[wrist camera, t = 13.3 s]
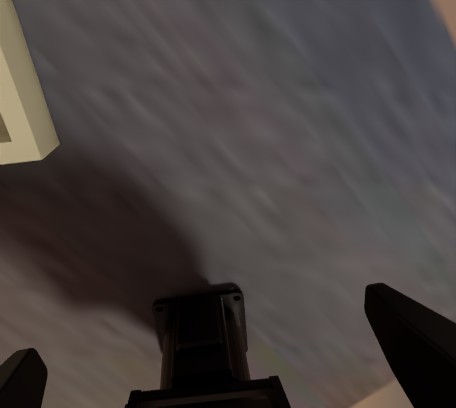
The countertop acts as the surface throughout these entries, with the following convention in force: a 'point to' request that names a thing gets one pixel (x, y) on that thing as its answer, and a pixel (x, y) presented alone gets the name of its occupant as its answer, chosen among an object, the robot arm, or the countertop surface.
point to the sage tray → (21, 97)
